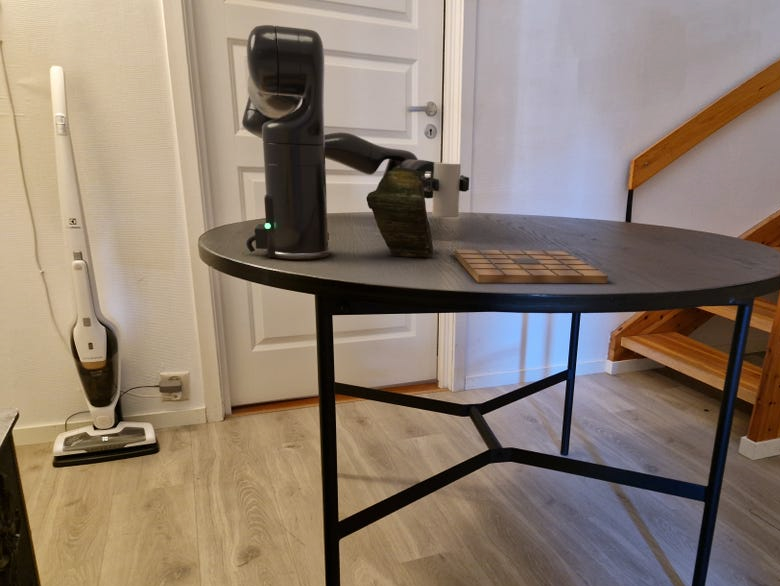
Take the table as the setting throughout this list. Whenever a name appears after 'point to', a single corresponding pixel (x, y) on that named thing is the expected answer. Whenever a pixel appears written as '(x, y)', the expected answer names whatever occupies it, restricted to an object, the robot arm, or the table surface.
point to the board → (527, 267)
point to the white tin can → (446, 189)
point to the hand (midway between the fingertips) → (451, 185)
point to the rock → (402, 213)
